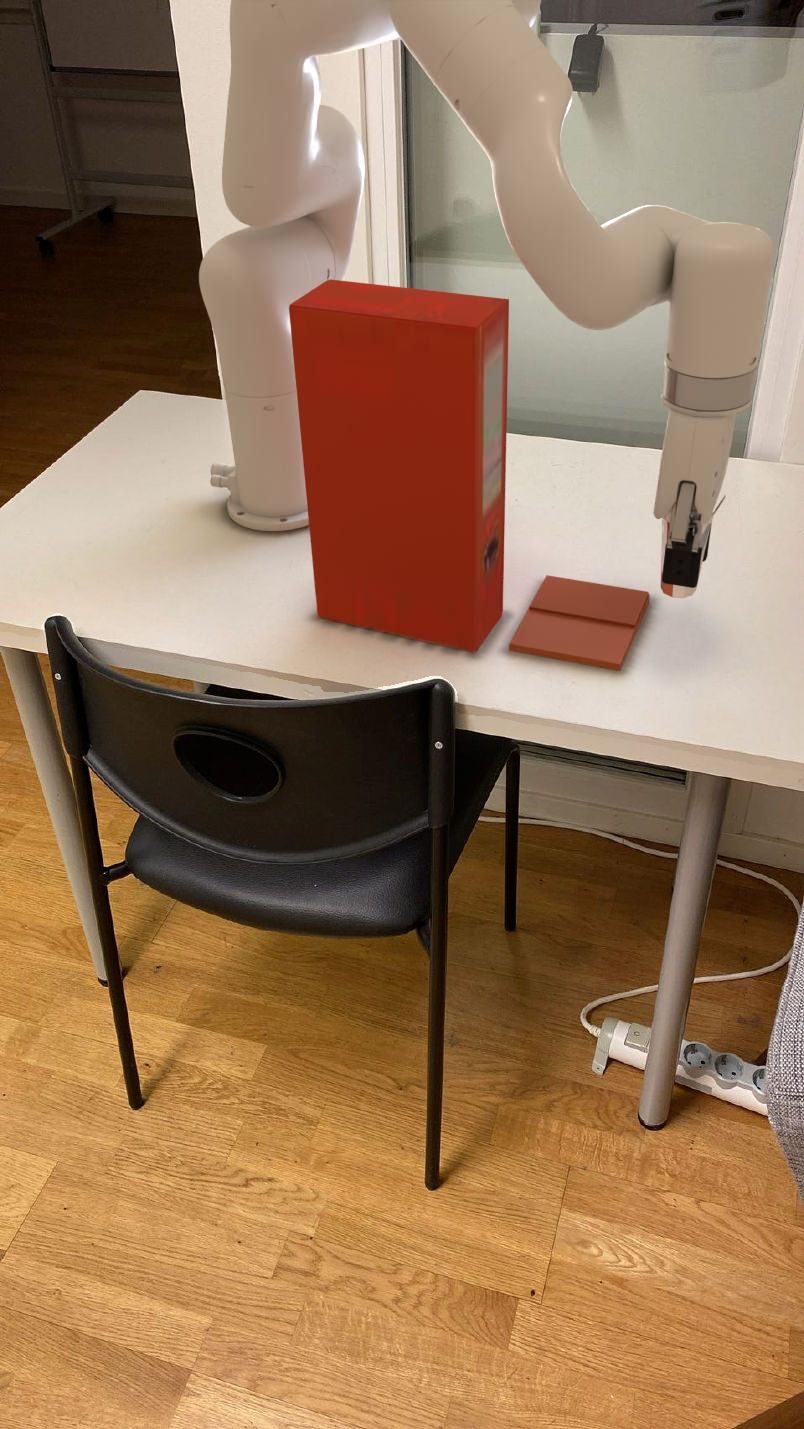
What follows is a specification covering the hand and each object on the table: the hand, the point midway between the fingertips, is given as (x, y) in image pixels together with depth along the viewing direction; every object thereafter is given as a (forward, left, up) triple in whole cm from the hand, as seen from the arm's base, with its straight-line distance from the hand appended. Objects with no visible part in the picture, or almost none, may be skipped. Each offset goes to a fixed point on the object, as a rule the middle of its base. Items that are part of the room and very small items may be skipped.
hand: (684, 569), depth 110 cm
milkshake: (0, 0, -3) cm, 3 cm away
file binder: (-26, -4, -8) cm, 28 cm away
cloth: (-10, 0, -8) cm, 13 cm away
